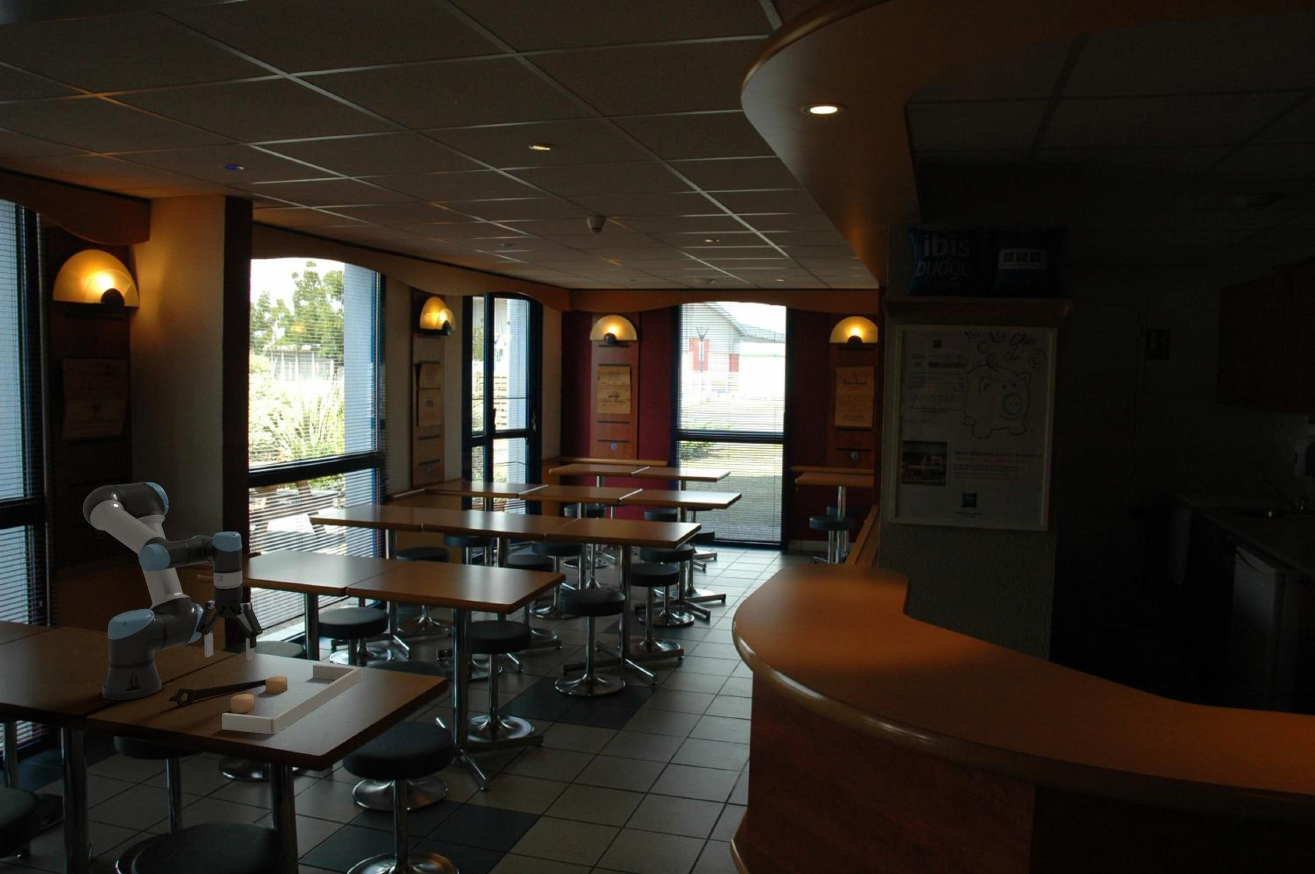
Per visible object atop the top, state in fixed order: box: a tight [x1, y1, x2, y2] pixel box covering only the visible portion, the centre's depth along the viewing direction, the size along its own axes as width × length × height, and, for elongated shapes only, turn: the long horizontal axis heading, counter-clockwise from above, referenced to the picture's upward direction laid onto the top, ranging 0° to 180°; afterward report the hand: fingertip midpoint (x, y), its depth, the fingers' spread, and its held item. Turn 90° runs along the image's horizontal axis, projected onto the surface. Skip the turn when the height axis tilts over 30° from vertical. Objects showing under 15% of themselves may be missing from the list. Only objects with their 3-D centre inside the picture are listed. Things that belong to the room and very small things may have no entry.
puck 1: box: [230, 693, 255, 714], centre depth 254 cm, size 6×6×4 cm
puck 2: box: [265, 675, 288, 695], centre depth 270 cm, size 6×6×4 cm
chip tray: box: [221, 663, 362, 735], centre depth 260 cm, size 16×44×4 cm, turn 169°
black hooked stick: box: [167, 678, 267, 708], centre depth 264 cm, size 5×5×30 cm
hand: (229, 657), depth 263 cm, fingers open, 13 cm apart
